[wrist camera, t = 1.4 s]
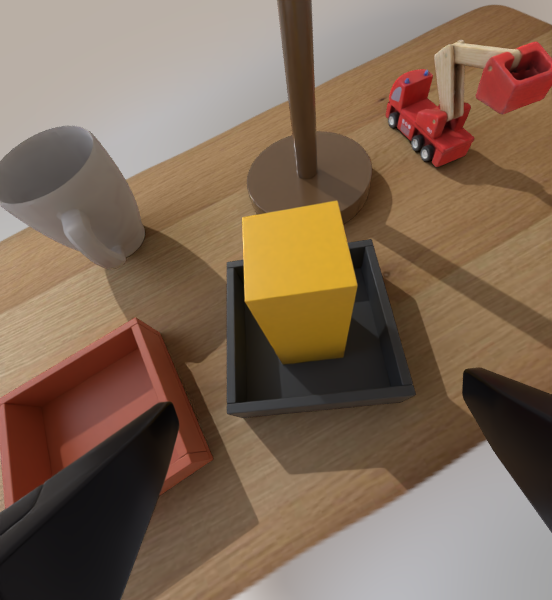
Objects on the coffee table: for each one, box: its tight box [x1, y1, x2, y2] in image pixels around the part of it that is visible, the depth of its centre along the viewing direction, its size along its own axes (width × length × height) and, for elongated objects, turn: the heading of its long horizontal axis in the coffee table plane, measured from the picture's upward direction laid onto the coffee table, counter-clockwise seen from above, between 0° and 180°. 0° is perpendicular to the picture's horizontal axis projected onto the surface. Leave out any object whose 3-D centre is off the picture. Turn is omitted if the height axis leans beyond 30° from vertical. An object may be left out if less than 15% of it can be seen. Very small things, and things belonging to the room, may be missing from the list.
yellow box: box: [242, 201, 358, 365], centre depth 17 cm, size 4×4×11 cm
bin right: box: [227, 239, 416, 418], centre depth 21 cm, size 11×11×4 cm
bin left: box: [0, 318, 213, 509], centre depth 20 cm, size 11×11×4 cm
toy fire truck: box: [386, 40, 552, 167], centre depth 25 cm, size 3×14×10 cm, turn 20°
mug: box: [0, 126, 145, 269], centre depth 25 cm, size 12×9×10 cm
